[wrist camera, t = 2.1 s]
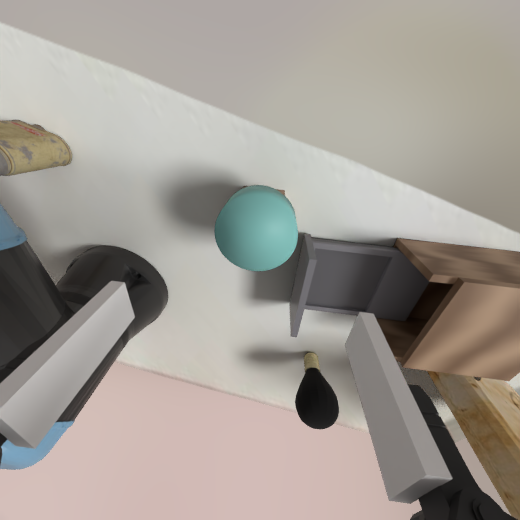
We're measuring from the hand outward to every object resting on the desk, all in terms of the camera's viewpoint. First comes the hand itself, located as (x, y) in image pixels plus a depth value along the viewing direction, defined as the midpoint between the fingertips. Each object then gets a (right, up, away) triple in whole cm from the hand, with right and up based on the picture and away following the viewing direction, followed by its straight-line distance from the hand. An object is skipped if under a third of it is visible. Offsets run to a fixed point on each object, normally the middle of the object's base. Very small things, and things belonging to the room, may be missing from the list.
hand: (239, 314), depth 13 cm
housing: (+27, -1, +20) cm, 33 cm away
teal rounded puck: (+1, +7, +12) cm, 14 cm away
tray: (+15, 0, +20) cm, 25 cm away
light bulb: (+11, -15, +30) cm, 36 cm away
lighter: (-25, +17, +14) cm, 33 cm away
